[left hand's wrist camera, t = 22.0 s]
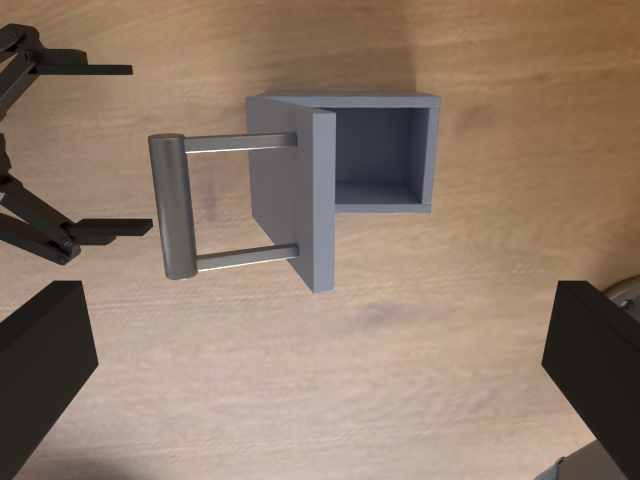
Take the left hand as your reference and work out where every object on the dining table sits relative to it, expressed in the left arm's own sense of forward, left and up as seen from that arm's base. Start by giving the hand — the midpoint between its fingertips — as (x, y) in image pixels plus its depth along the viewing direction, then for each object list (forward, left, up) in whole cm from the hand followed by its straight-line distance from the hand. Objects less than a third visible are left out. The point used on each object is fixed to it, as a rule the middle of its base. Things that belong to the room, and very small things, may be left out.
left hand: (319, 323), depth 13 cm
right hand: (+16, +1, -28) cm, 33 cm away
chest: (-2, 0, -35) cm, 35 cm away
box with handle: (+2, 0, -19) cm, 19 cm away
